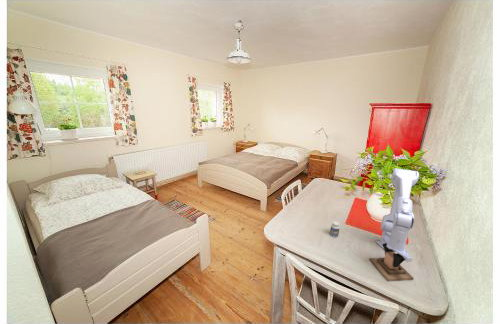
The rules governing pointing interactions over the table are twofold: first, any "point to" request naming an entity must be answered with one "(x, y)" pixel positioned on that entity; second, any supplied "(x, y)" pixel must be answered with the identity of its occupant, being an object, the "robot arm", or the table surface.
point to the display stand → (390, 271)
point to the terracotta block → (389, 260)
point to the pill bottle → (335, 229)
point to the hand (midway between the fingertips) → (391, 262)
